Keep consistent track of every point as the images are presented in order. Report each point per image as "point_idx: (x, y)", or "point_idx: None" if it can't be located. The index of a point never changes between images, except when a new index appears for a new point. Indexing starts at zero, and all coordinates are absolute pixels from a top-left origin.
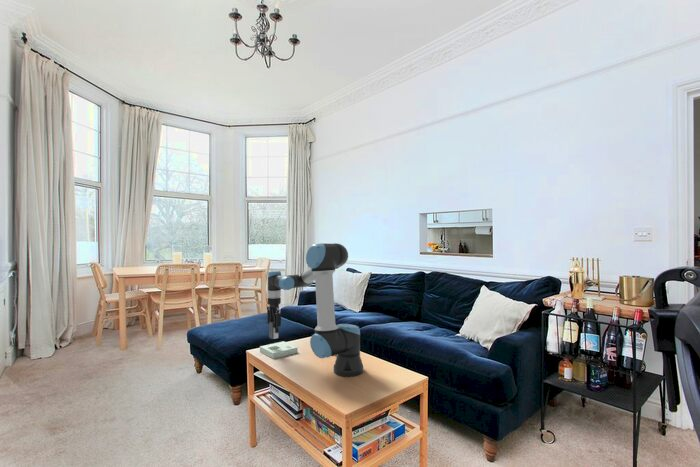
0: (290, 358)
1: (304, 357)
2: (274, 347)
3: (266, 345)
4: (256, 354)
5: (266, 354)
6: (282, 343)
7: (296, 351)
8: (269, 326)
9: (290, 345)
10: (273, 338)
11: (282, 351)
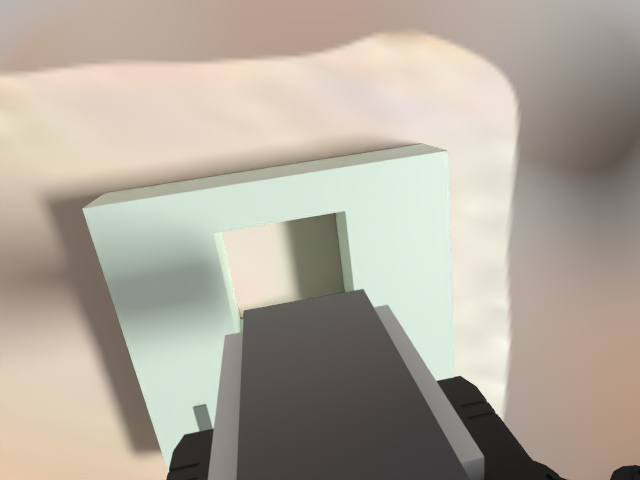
0: (30, 350)
1: (4, 464)
2: None
3: (435, 235)
4: (352, 76)
5: (264, 170)
6: None
7: None
8: (431, 436)
9: None
10: None
11: (123, 328)
